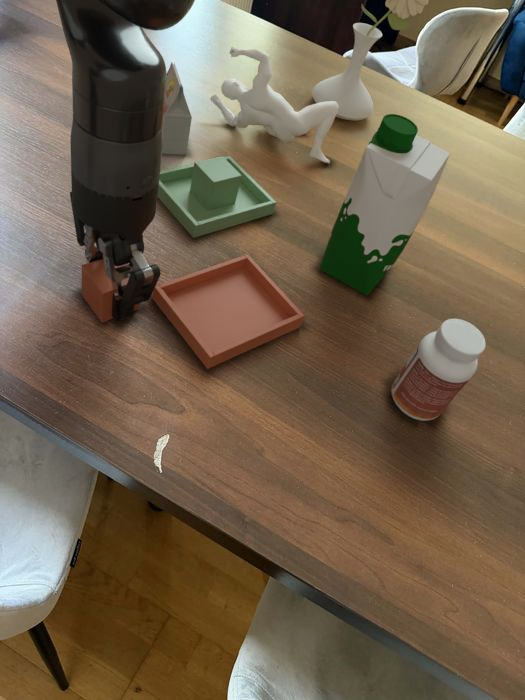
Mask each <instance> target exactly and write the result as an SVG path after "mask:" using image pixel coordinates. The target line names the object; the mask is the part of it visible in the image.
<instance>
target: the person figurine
mask: <svg viewBox="0 0 525 700" xmlns="http://www.w3.org/2000/svg"><path fill="white" fill-rule="evenodd" d="M229 54H230V57H231V58H236V57H237V58H238V57H239V56H245V57H247V58H250V59H253V60H255V61H257V62H259V63H258V66H257V74H256V75H255V76H254V77H253V78H252V88H250V89H249V88H248V87H247V86H246V85H245V84H243V82H241V81H240V80H238V79H236V78H233V77H232V78H230V77H229V78H227V79H224V81H223V82H222V84H221V87H220V90H221V94H222V95H223V96H224V97H225V98H227V99H230V101H235V100H236V101H237V102H238V103H239V107H240V111H239V112H238V113H237V114H236V115H235V114H234V113H233V112H232V111H231V110H230V109H229V108H228V107H227V106H226V105H225V104H224V103H223V102H222V99H221V98H220V96H218V94H217V93H215V94H213V95H211V97H210V101H211V102H212V103H213V104H214V105H215V106H216V107H217V108H218V109H219V111H220V112H221V114H222V116H223V117H224V120H225V121H226V122H227V124H228V125H229V126H230V127H231V128H232V127H237V128H239V129H246V128H248V127H249V125H250V126H262V127H263V129H264V130H265V131H266V132H267V133H268V134H269V135H270V136H273V137H275V138H277V139H278V140H280V141H281V142H282V143H284V144H285V143H286V144H289V143H290V144H291V143H292V142H293V141H294V140H296V137H300V136H304V135H306V134H308V133H309V131H311V130H312V129H314V128H315V131H314V138H313V144H312V148H311V150H310V152H309V154H308V156H309V158H311V159H315V160H318V161H320V162H322V163H326V164H330V163H331V160H330V159H329V158H327V157H326V156H325V154H324V153H323V151H322V145H323V142H324V139H325V138H326V136H327V134H328V132H329V130H330V129H331V127H332V126H333V124H334V121H335V119H336V117H335V116H336V115H337V113H338V110H339V105H338V103H337V102H335V101H325V102H320V103H312V104H309V105H307V106H305V107H303V108H302V109H300V110H298V111H295V109H294V108H293V106H292V105H291V104H290V103H289V102H288V101H287V100H286V99H285V98H284V96H283V95H282V94H280V93H279V92H277V91H274V89H273V88H272V87H271V86H270V84H269V82H270V81H271V79H272V75H273V71H272V66H271V63H270V59H271V57H270V54H268V53H266V52H264V51H262V50H259V49H256V48H255V49H243V48H242V49H241V48H237V47H233V46H232V47H231V48H230V50H229Z"/></svg>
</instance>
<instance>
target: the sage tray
mask: <svg viewBox="0 0 525 700" xmlns="http://www.w3.org/2000/svg"><path fill="white" fill-rule="evenodd" d="M223 157H224V158H225V159H226V160H227V161H228V162H229V163H230V164H231V165H232V166H233V167H234V168H235V169H236V170H237V171H238V172H239V173H240V174H241V175H242V177H241V181H240V185H239V189H238V193H237V198H236V202H235V203H234V204H231V205H227V206H223V207H220V208H216V209H213V210H209V211H208V210H207V209H206V208H205V207H204V206H203V204H202V203H201V202H200V201H199V200H198V199H197V198H196V197H195V196H194V195H193V194H192V192H191V191H190V187H191V181H192V175H193V169H194V163H191V164H187V165H182V166H178V167H173V168H169V169H163V170H160V178H159V187H158V197H157V199H159V200H160V201H161V203H163V205H164V206H165V207H166V208H167V209H168V211H169V212H170V213H171V214H172V215H173V216H174V218H176V220H177V221H178V222H179V224H181V225H182V226H183V228H184V229H185V230H186V231H187V232H188V234H189V235H190V236H191V237H192V238H193V239H195V238H198V237H202V236H205V235H207V234H211V233H214V232H218V231H221V230H224V229H228V228H231V227H234V226H237V225H242V224H244V223H249V222H251V221H253V220H257V219H261V218H264V217H267V216H271V215H274V212H275V209H276V205H277V201H276V200H275V199H274V198H273V197H272V196H271V195H270V194H269V193H268V192H267V191H266V190H265V189H264V188H263V187H262V186H261V185H260V184H259V183H258V182H257V181H256V180H255V179H254V178H253V177H252V176H251V175H250V174H249V173H248V172H247V171H246V170H245V169H244V168H243V167H242V166H241V165H240V164H239V163H238V162H237V161H236V160H235V159H233V157H232V156H231V155H226V156H223Z"/></svg>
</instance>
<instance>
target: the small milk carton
mask: <svg viewBox="0 0 525 700" xmlns="http://www.w3.org/2000/svg"><path fill="white" fill-rule="evenodd" d="M177 69H178V68H177V66H176V63H175V62H173V61H171V62H170V66H169V68H168V70H167V71H166V73H167V81H166V92H165V100H164V110H163V120H162V155H182V156H183V155H184V156H187V154H188V153H187V151H188V147H189V146H188V145H189V141H190V140H189V139H190V132H191V126H192V117H193V116H192V113H191V111H190V108H189V104H188V102H187V99H186V96H185V93H184V87H183V83H182V81H181V77H180V75H179V71H178V70H177Z"/></svg>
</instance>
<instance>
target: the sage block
mask: <svg viewBox="0 0 525 700" xmlns="http://www.w3.org/2000/svg"><path fill="white" fill-rule="evenodd" d="M224 157H225V156H223V155H221V156H217V157H213V158H208V159H202V160H198V161H195V162H194V163H193V164H194V169H193V175H192V181H191V187H190V191H191V192H192V194H193V195H194V196H195V197H196V198H197V199H198V200H199V201H200V202H201V203H202V204H203V206H204V207H205V208H206V209H207V210H208V211H209V210H213V209H216V208H220V207H223V206H227V205H231V204H234V203H235V202H236V198H237V193H238V189H239V185H240V181H241V177H242V175H241V174H240V173H239V172H238V171H237V170H236V169H235V168H234V167H233V166H232V165H231V164H230V163H229V162H228V161H227V160H226V159H225V158H224Z"/></svg>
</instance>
